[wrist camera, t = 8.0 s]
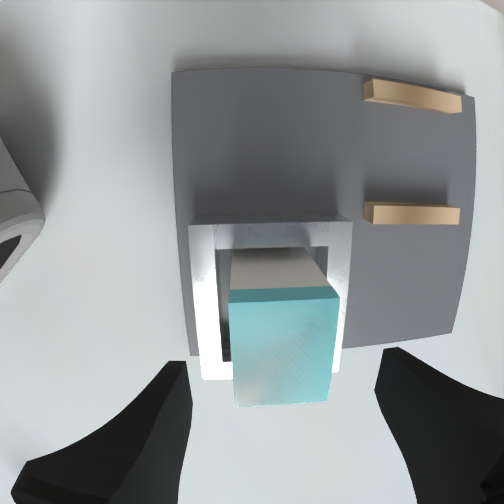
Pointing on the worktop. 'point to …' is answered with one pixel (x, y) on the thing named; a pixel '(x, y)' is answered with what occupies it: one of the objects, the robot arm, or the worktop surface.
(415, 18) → the worktop surface
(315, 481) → the worktop surface
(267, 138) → the panel board
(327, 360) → the plug
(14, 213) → the alarm clock
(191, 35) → the worktop surface
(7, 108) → the worktop surface
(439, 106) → the wooden parallel rails
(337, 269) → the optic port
